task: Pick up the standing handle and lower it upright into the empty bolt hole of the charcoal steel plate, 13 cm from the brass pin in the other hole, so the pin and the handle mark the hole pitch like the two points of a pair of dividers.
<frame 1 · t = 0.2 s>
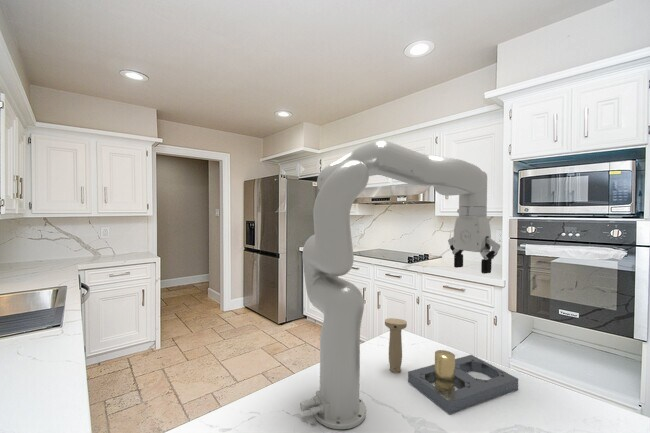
hand: (471, 270, 91), 31 cm above the countertop, tool pointing down, fingers open, 9 cm apart
handle: (395, 371, 92), on the countertop
brass pin: (444, 391, 81), resting in bolt plate
bolt plate: (461, 385, 84), on the countertop
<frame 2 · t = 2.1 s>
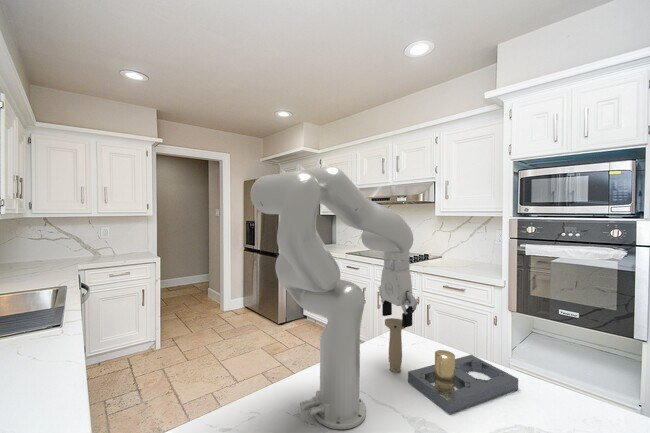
hand: (396, 320, 92), 15 cm above the countertop, tool pointing down, fingers open, 9 cm apart
nothing on the countertop moved.
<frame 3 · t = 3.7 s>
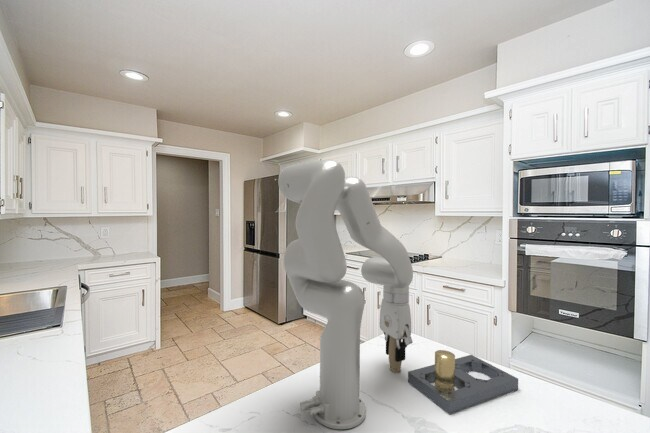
hand: (395, 356, 92), 4 cm above the countertop, tool pointing down, fingers closed on handle, 4 cm apart
handle: (395, 371, 92), on the countertop, touching gripper
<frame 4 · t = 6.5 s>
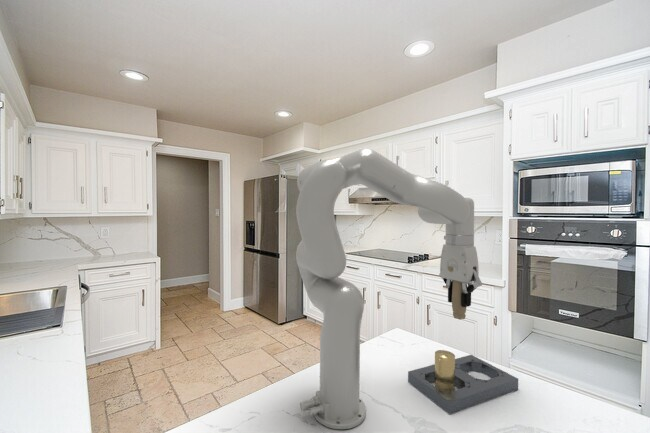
hand: (459, 303, 88), 22 cm above the countertop, tool pointing down, fingers closed on handle, 4 cm apart
handle: (459, 318, 88), point 17 cm above the countertop, touching gripper
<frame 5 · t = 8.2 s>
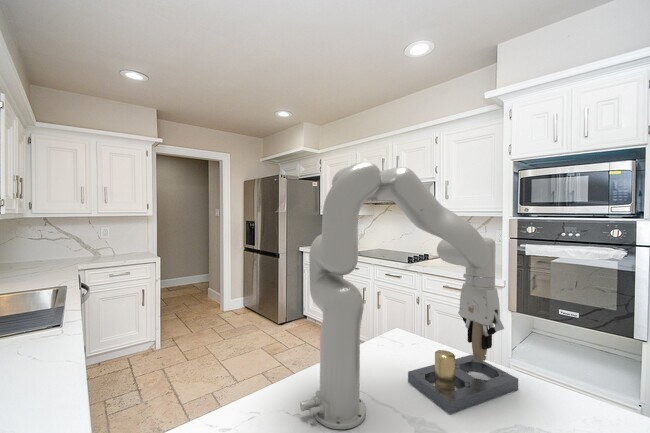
hand: (479, 344, 87), 10 cm above the countertop, tool pointing down, fingers closed on handle, 4 cm apart
handle: (479, 359, 87), point 6 cm above the countertop, touching gripper
when the fingers open (6 cm above the countertop, at t = 9.5 s): handle drops 1 cm, resting in bolt plate.
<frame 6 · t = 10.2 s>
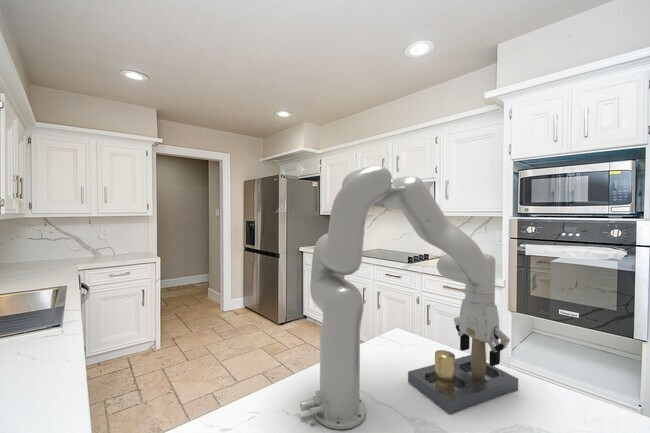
hand: (478, 356, 87), 7 cm above the countertop, tool pointing down, fingers open, 9 cm apart
handle: (478, 381, 87), resting in bolt plate
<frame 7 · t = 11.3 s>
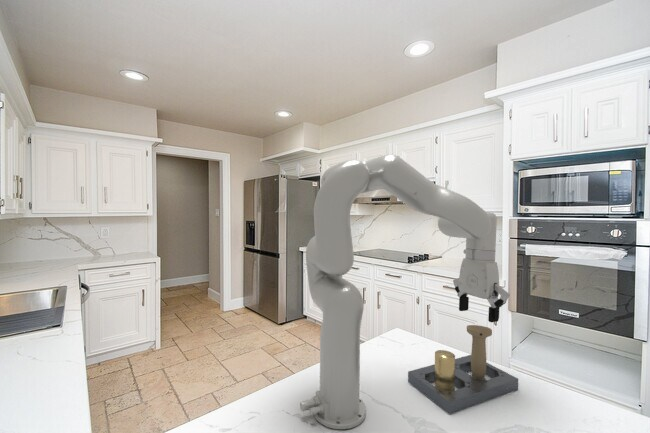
hand: (477, 315, 86), 19 cm above the countertop, tool pointing down, fingers open, 9 cm apart
nothing on the countertop moved.
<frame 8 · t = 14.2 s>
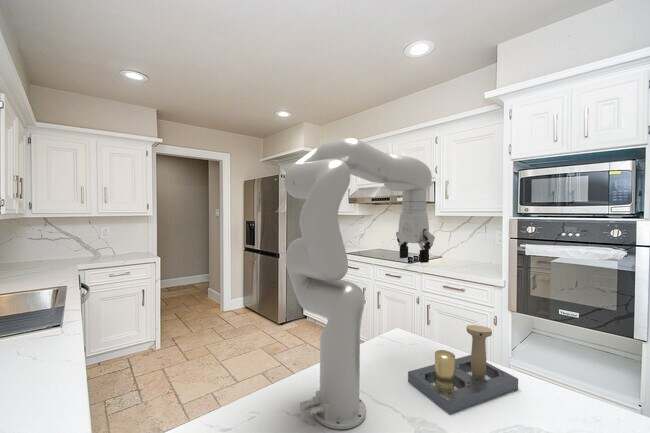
hand: (413, 260, 99), 32 cm above the countertop, tool pointing down, fingers open, 9 cm apart
nothing on the countertop moved.
at the end: handle 0.2 cm from the target spot on the bolt plate, point 0.0 cm above the bolt plate's base; handle tilted 0°; the gripper is holding nothing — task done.
